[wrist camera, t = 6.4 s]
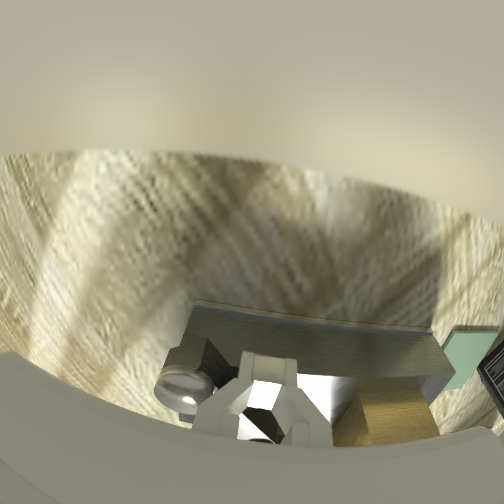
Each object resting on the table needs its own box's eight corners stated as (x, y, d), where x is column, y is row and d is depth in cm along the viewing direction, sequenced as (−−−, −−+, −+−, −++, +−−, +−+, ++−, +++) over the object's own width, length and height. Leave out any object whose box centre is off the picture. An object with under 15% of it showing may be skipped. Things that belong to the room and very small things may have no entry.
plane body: (430, 327, 18) (457, 370, 13) (391, 388, 21) (406, 429, 16) (196, 299, 17) (175, 352, 13) (193, 372, 20) (179, 421, 16)
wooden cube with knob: (421, 389, 14) (443, 442, 10) (387, 428, 16) (399, 476, 12) (358, 393, 14) (375, 457, 9) (329, 433, 16) (336, 487, 11)
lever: (206, 315, 11) (188, 375, 8) (283, 413, 14) (284, 461, 11) (167, 330, 12) (142, 385, 9) (250, 420, 15) (247, 467, 11)
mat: (497, 330, 18) (499, 332, 18) (459, 385, 21) (461, 387, 21) (452, 330, 18) (454, 333, 17) (411, 391, 21) (412, 394, 21)
